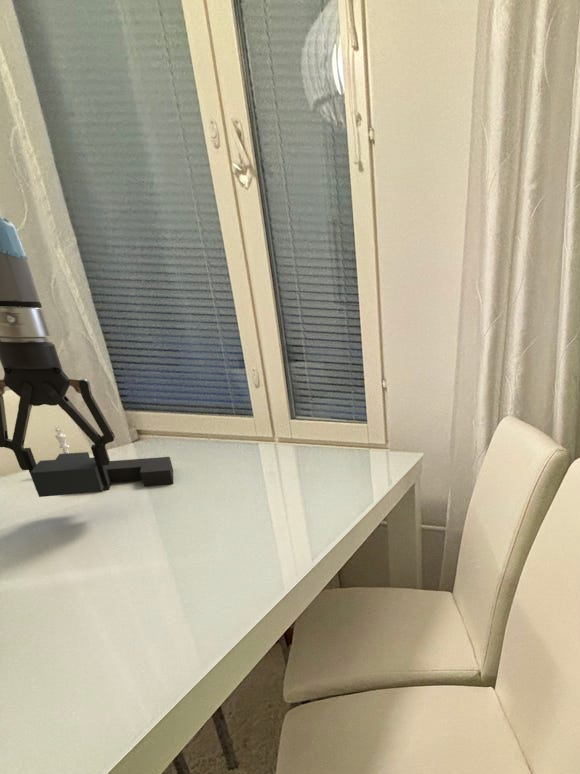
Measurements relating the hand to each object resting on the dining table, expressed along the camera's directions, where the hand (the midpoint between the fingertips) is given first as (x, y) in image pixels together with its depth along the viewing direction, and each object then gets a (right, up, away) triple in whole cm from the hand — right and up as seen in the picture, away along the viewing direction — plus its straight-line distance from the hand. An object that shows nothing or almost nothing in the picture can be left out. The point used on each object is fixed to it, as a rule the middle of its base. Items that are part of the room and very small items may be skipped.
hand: (74, 486), depth 96 cm
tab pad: (-1, +1, +2) cm, 3 cm away
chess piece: (-24, +12, +32) cm, 42 cm away
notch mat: (-8, +9, +27) cm, 29 cm away
